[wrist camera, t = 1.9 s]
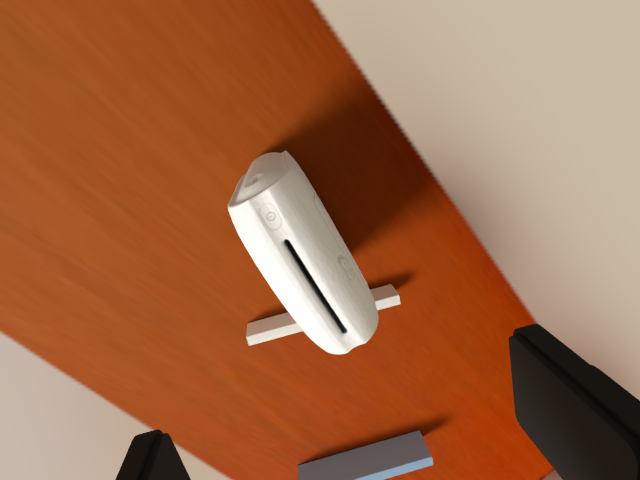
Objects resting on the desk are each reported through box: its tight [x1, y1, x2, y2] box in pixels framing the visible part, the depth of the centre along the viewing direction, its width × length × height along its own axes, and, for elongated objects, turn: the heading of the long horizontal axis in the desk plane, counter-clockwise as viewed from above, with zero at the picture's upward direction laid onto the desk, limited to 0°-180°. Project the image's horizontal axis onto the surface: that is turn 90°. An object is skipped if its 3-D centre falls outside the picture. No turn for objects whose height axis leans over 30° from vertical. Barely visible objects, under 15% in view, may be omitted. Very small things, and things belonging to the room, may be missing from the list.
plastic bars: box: [246, 284, 433, 480], centre depth 33 cm, size 17×12×3 cm
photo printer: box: [228, 151, 378, 354], centre depth 23 cm, size 10×4×12 cm, turn 30°
